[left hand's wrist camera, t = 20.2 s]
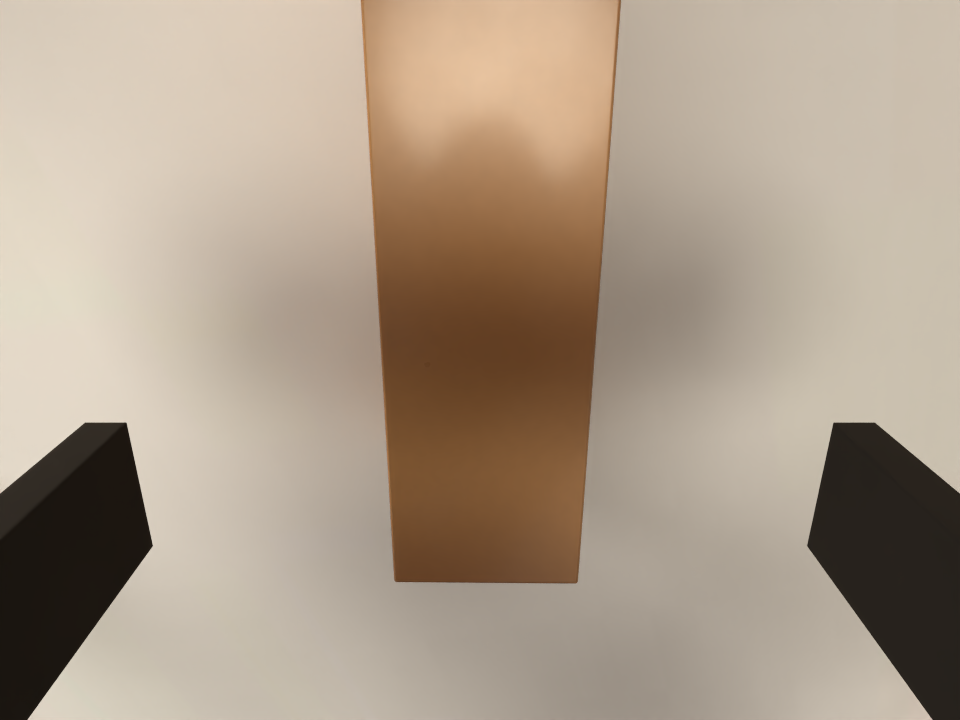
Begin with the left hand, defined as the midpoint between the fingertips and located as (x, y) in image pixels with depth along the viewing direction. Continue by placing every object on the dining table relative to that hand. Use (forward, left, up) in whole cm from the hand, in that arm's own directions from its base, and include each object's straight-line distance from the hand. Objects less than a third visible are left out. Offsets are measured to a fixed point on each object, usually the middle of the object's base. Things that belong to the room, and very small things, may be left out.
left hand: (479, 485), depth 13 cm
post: (+29, +6, -12) cm, 32 cm away
